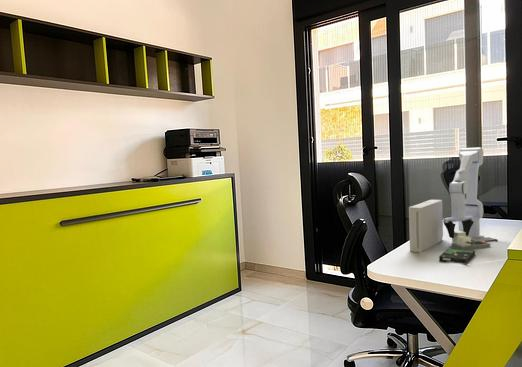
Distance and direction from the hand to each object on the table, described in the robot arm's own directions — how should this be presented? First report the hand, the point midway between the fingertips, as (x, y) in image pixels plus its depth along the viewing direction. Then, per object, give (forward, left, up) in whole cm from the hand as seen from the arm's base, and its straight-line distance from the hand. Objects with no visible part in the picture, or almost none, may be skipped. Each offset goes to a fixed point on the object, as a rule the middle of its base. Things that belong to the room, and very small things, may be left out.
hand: (458, 236), depth 184 cm
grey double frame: (+7, 0, -4) cm, 8 cm away
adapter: (+9, -3, -3) cm, 10 cm away
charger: (0, 0, -4) cm, 4 cm away
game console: (-4, -14, -4) cm, 15 cm away
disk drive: (+19, -16, -4) cm, 25 cm away
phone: (0, +13, -4) cm, 14 cm away
